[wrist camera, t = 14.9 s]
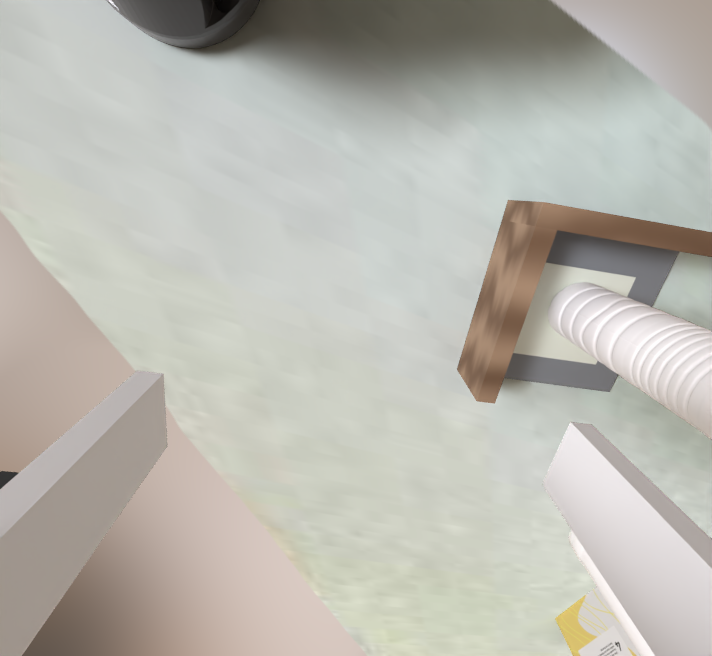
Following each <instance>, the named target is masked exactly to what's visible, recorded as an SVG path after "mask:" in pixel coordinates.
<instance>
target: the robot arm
mask: <svg viewBox="0 0 712 656" xmlns="http://www.w3.org/2000/svg"><path fill="white" fill-rule="evenodd" d="M106 1H107V2H108V3H109V4H110V5H111V6H112V7H113V8H114V9H115V10H116V11H118V12H119V13H120V14H121V15H122V16H124V17H125V18H126V19H127V20H129V21H130V22H131V23H132V24H134V25H135V26H136V27H137V28H139V29H140V30H142V31H143V32H144V33H146V34H148V35H149V36H151V37H153V38H155V39H157V40H159V41H162V42H164V43H167V44H170V45H174V46H178V47H184V48H200V47H206V46H211V45H214V44H217V43H219V42H222V41H223V40H225V39H227V38H229V37H230V36H232V35H233V34H234V33H236V32H237V31H238V30H239V29H240V28H241V27H242V26H243V25H244V24H245V23H246V22H247V21H248V19H249V18H250V17H251V15H252V14H253V12H254V10H255V9H256V7H257V5H258V3H259V1H260V0H106ZM166 448H167V429H166V411H165V392H164V374H162V373H154V372H145V371H136V372H135V373H134V374H133V375H132V376H130V377H129V378H128V379H127V380H126V381H125V382H123V383H122V384H121V385H120V386H119V387H118V388H116V389H115V390H114V391H113V392H112V393H111V394H110V395H108V396H107V397H106V398H105V399H104V400H103V401H102V402H101V403H99V404H98V405H97V406H96V407H95V408H93V409H92V410H91V411H90V412H89V413H88V414H86V415H85V416H84V417H83V418H82V419H81V420H80V421H78V422H77V423H76V424H75V425H74V426H73V427H71V428H70V429H69V430H68V431H67V432H66V433H65V434H63V435H62V436H61V437H60V438H59V439H58V440H56V441H55V442H54V443H53V444H52V445H51V446H50V447H49V448H47V449H46V450H45V451H44V452H43V453H42V454H41V455H39V456H38V457H37V458H36V459H35V460H33V461H32V462H31V463H30V464H29V465H28V466H27V467H25V468H24V469H23V470H22V471H21V472H20V473H16V472H5V471H1V472H0V656H22V654H23V653H24V652H25V650H26V649H27V647H28V646H29V644H30V643H31V642H32V640H33V639H34V637H35V636H36V634H37V633H38V631H39V630H40V629H41V627H42V626H43V624H44V623H45V621H46V620H47V619H48V617H49V616H50V614H51V613H52V611H53V610H54V608H55V607H56V606H57V604H58V603H59V601H60V600H61V598H62V597H63V596H64V594H65V592H66V591H67V590H68V588H69V587H70V585H71V584H72V583H73V581H74V580H75V578H76V576H77V575H78V574H79V573H80V571H81V570H82V568H83V567H84V565H85V564H86V562H87V561H88V560H89V558H90V557H91V555H92V554H93V552H94V551H95V550H96V548H97V547H98V545H99V544H100V542H101V541H102V539H103V538H104V536H105V535H106V534H107V532H108V531H109V529H110V528H111V526H112V525H113V524H114V522H115V521H116V519H117V518H118V517H119V515H120V514H121V512H122V511H123V509H124V508H125V506H126V505H127V503H128V502H129V501H130V499H131V498H132V496H133V495H134V494H135V492H136V490H137V489H138V488H139V486H140V485H141V483H142V482H143V481H144V479H145V478H146V476H147V475H148V473H149V472H150V470H151V469H152V468H153V466H154V465H155V463H156V462H157V460H158V459H159V458H160V456H161V455H162V453H163V452H164V450H165V449H166ZM542 486H543V487H544V489H545V490H546V492H547V493H548V495H549V496H550V498H551V499H552V501H553V502H554V504H555V505H556V507H557V508H558V510H559V511H560V513H561V514H562V516H563V517H564V519H565V521H566V522H567V524H568V525H569V527H570V528H571V530H572V531H573V533H574V534H575V536H576V537H577V539H578V540H579V542H580V543H581V545H582V546H583V548H584V549H585V551H586V552H587V554H588V555H589V557H590V558H591V560H592V561H593V563H594V564H595V566H596V567H597V569H598V570H599V572H600V573H601V575H602V576H603V578H604V579H605V581H606V582H607V584H608V585H609V587H610V588H611V590H612V591H613V593H614V595H615V596H616V598H617V599H618V601H619V602H620V604H621V605H622V607H623V608H624V610H625V611H626V613H627V614H628V616H629V617H630V619H631V620H632V622H633V623H634V625H635V626H636V628H637V629H638V631H639V632H640V634H641V635H642V637H643V638H644V640H645V641H646V643H647V644H648V646H649V647H650V649H651V650H652V652H653V653H654V655H655V656H712V538H710V537H709V536H708V535H707V534H706V533H705V532H704V531H703V530H702V529H701V528H699V527H698V526H697V525H696V524H695V523H694V522H693V521H692V520H691V519H690V518H689V517H688V516H687V515H686V514H685V513H684V512H683V511H682V510H681V509H680V508H679V507H678V506H676V505H675V504H674V503H673V502H672V501H671V500H670V499H669V498H668V497H667V496H666V495H665V494H664V493H663V492H662V491H661V490H660V489H659V488H658V487H657V486H656V485H655V484H654V483H652V482H651V481H650V480H649V479H648V478H647V477H646V476H645V475H644V474H643V473H642V472H641V471H640V470H639V469H638V468H637V467H636V466H635V465H634V464H633V463H632V462H631V461H629V460H628V459H627V458H626V457H625V456H624V455H623V454H622V453H621V452H620V451H619V450H618V449H617V448H616V447H615V446H614V445H613V444H612V443H611V442H610V441H609V440H608V439H606V438H605V437H604V436H603V435H602V434H601V433H600V432H599V431H598V430H597V429H596V428H595V427H594V426H593V425H592V424H583V423H575V422H570V424H569V426H568V428H567V431H566V433H565V435H564V437H563V439H562V441H561V444H560V446H559V448H558V450H557V452H556V455H555V457H554V459H553V461H552V463H551V465H550V468H549V470H548V472H547V474H546V476H545V478H544V481H543V483H542Z"/></svg>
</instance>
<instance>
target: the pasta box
mask: <svg viewBox="0 0 712 656" xmlns="http://www.w3.org/2000/svg"><path fill="white" fill-rule="evenodd" d="M555 619H556V621H557V624H558V626H559V628H560V630H561V632H562V634H563V636H564V638H565V640H566V642H567V644H568V646H569V648H570V650H571V652H572V654H573V656H641V655H640V654H639V652H638V651H637V649H636V648H635V646H634V644H633V643H632V641H631V640H630V638H629V636H628V635H627V633H626V632H625V630H624V629H623V627H622V625H621V624H620V622H619V621H618V619H617V618H616V616H615V614H614V613H613V611H612V610H611V608H610V606H609V605H608V603H607V602H606V600H605V599H604V597H603V595H602V594H601V592H600V591H599V589H598V588H597V587H595V588H594V589H593V590H591V591H590V592H589V593H587V594H586V595H585V596H584V597H582V598H581V599H580V600H578V601H577V602H576V603H574V604H573V605H572V606H571V607H569V608H568V609H567V610H565V611H564V612H563V613H562V614H560V615H559V616H558V617H556V618H555Z"/></svg>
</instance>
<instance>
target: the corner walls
mask: <svg viewBox="0 0 712 656" xmlns="http://www.w3.org/2000/svg"><path fill="white" fill-rule="evenodd" d="M557 230H559V231H565V232H571V233H577V234H582V235H588V236H594V237H600V238H605V239H611V240H617V241H623V242H628V243H634V244H640V245H646V246H652V247H657V248H663V249H669V250H675V251H680V252H686V253H692V254H698V255H703V256H709V257H712V232H706V231H701V230H695V229H690V228H684V227H679V226H673V225H667V224H662V223H656V222H651V221H645V220H640V219H634V218H629V217H623V216H617V215H612V214H606V213H601V212H595V211H590V210H584V209H579V208H573V207H567V206H562V205H556V204H551V203H545V202H531V201H514V200H508V202H507V206H506V209H505V212H504V216H503V219H502V222H501V226H500V229H499V232H498V235H497V239H496V242H495V245H494V249H493V252H492V255H491V259H490V262H489V265H488V269H487V272H486V275H485V278H484V282H483V285H482V288H481V292H480V295H479V298H478V302H477V305H476V308H475V312H474V315H473V318H472V322H471V325H470V328H469V331H468V335H467V338H466V341H465V345H464V348H463V351H462V355H461V358H460V361H459V365H458V368H457V370H458V372H459V373H460V375H461V377H462V378H463V380H464V381H465V383H466V385H467V386H468V388H469V389H470V391H471V393H472V394H473V396H474V398H475V399H476V401H480V402H488V403H495V401H496V399H497V396H498V393H499V390H500V388H501V385H502V382H503V379H504V376H505V374H506V371H507V368H508V365H509V363H510V360H511V357H512V354H513V352H514V349H515V346H516V343H517V340H518V338H519V335H520V332H521V329H522V327H523V324H524V321H525V318H526V316H527V313H528V310H529V307H530V305H531V302H532V299H533V296H534V293H535V291H536V288H537V285H538V282H539V280H540V277H541V274H542V271H543V269H544V266H545V263H546V260H547V257H548V255H549V252H550V249H551V246H552V244H553V241H554V238H555V235H556V233H557Z"/></svg>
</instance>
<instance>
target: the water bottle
mask: <svg viewBox="0 0 712 656" xmlns="http://www.w3.org/2000/svg"><path fill="white" fill-rule="evenodd" d="M548 320H549V323H550V325H551V327H552V328H553V329H554V330H555V331H556V332H557V333H558V334H560V335H561V336H563V337H564V338H566V339H568V340H569V341H570V342H572V343H573V344H575V345H576V346H578V347H580V348H581V349H582V350H583V351H585V352H586V353H587V354H589V355H591V356H592V357H594V358H595V359H596V360H598V361H599V362H601V363H602V364H604V365H605V366H606V367H608V368H609V369H610V370H612V371H613V372H615V373H617V374H619V375H620V376H621V377H622V378H623V379H625V380H626V381H628V382H629V383H631V384H632V385H634V386H635V387H637V388H639V389H640V390H642V391H643V392H644V393H646V394H647V395H649V396H650V397H651V398H653V399H654V400H656V401H657V402H659V403H660V404H662V405H663V406H665V407H666V408H667V409H669V410H670V411H672V412H673V413H675V414H676V415H677V416H679V417H680V418H682V419H684V420H685V421H686V422H687V423H689V424H690V425H692V426H694V427H695V428H697V429H698V430H699V431H700V432H702V433H703V434H704V435H706V436H707V437H708V438H710V439H711V440H712V331H710V330H708V329H706V328H703V327H700V326H697V325H695V324H693V323H691V322H689V321H687V320H684V319H682V318H679V317H676V316H673V315H670V314H668V313H666V312H664V311H661V310H659V309H656V308H652V307H650V306H648V305H646V304H643V303H641V302H638V301H635V300H633V299H631V298H628V297H626V296H622V295H620V294H618V293H616V292H613V291H610V290H607V289H605V288H603V287H601V286H598V285H596V284H593V283H589V282H581V283H574V284H571V285H569V286H567V287H565V288H564V289H563V290H562V291H560V292H558V293H557V294H556V296H555V297H554V298H553V300H552V301H551V306H550V307H549V309H548Z"/></svg>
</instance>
